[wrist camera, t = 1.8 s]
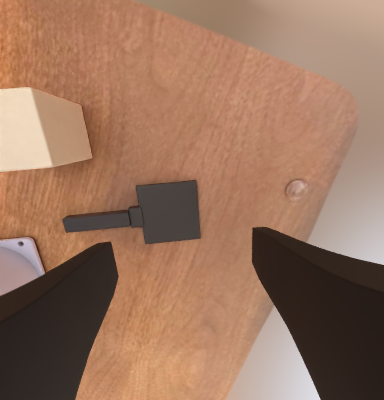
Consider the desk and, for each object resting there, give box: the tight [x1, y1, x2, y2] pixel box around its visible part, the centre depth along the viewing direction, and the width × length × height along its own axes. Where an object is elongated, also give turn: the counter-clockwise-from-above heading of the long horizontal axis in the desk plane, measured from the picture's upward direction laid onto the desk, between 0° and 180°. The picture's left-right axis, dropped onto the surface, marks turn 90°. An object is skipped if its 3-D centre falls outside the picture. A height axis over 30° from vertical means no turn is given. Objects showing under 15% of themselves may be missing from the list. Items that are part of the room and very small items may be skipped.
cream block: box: [0, 87, 93, 172], centre depth 14 cm, size 4×4×6 cm
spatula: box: [62, 180, 200, 244], centre depth 19 cm, size 13×6×1 cm, turn 94°
